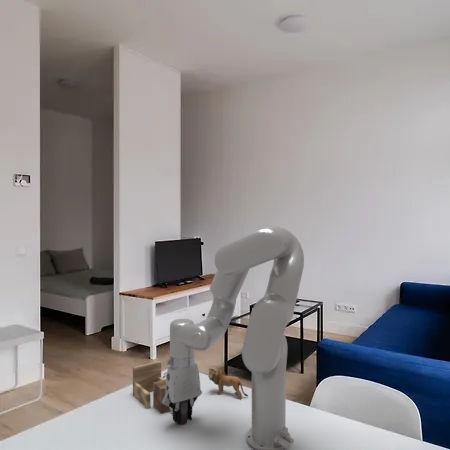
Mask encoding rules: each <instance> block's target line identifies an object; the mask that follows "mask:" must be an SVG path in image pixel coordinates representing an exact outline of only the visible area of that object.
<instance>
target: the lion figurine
mask: <svg viewBox="0 0 450 450" xmlns="http://www.w3.org/2000/svg"><path fill="white" fill-rule="evenodd" d="M208 370H209V371H208V378H209V380H210V381H211V382H213V383H214V385H217V388H218V389H219V390H218V392H217V395H222V393H223V392H224V386H225V387H229V388H230V387H233V390H234V391H235V392H234V394H235V395H238V396H237V399H238V400H241V399H242V398H243V396H242V394H243V395H244V396H245V397H249V395H248V394H247V393H246V392H245V391H244V388H243V383H242V382H241V379H240V378H239V377H237V376H231V375H227V373H225V371H223V370H221V368H219V367H215V366H212V367H210V368H209V369H208ZM240 389H241V390H240Z"/></svg>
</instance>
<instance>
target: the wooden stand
mask: <svg viewBox="0 0 450 450" xmlns="http://www.w3.org/2000/svg"><path fill="white" fill-rule="evenodd" d="M165 379H166V378H163V376H162V361H160V360H158V361H157V360H156V361H153V362H152V361H151V362H149V363H145V364H140V365H136V366H132V396H133V397H134V398H135V399H137V400H138V401H139V402H140V404H142V405H143V406H144V407H145V408H146V409H150V408H151V405H152V404H151V392H152V393H153V383H154V382H158V381H161V380H165Z"/></svg>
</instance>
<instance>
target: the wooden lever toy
mask: <svg viewBox="0 0 450 450" xmlns="http://www.w3.org/2000/svg"><path fill="white" fill-rule="evenodd" d="M164 379H165V380H161V381H158V382H154V383H153V391H152V397H153V398H152V399H153V401H152V402H153V403H152V404H153V405H152V407H153V408H154V409H155V410H156V411H158V412H159V414H165V413H168V412H172V413H173V409H172V408H171V407H169V406H166V405H164V404H163V403H162V401H163V398H164V396H165V387H166V378H164ZM169 401H170V399H169ZM170 402H171V401H170ZM179 410H180V424H178V426H179V425H180V426H184V425H187V424H188V422H189V419H188V400H185V401H182V402H179Z"/></svg>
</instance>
